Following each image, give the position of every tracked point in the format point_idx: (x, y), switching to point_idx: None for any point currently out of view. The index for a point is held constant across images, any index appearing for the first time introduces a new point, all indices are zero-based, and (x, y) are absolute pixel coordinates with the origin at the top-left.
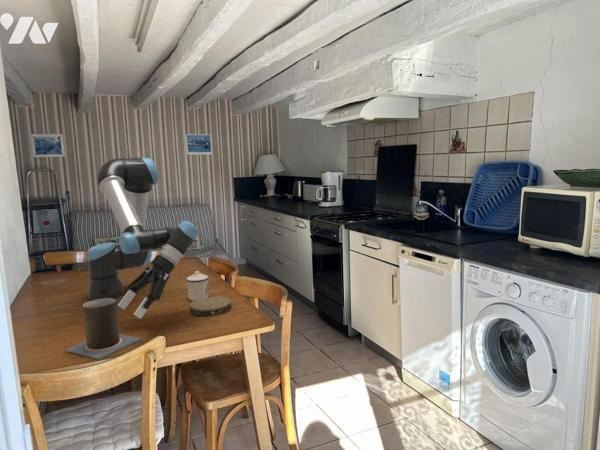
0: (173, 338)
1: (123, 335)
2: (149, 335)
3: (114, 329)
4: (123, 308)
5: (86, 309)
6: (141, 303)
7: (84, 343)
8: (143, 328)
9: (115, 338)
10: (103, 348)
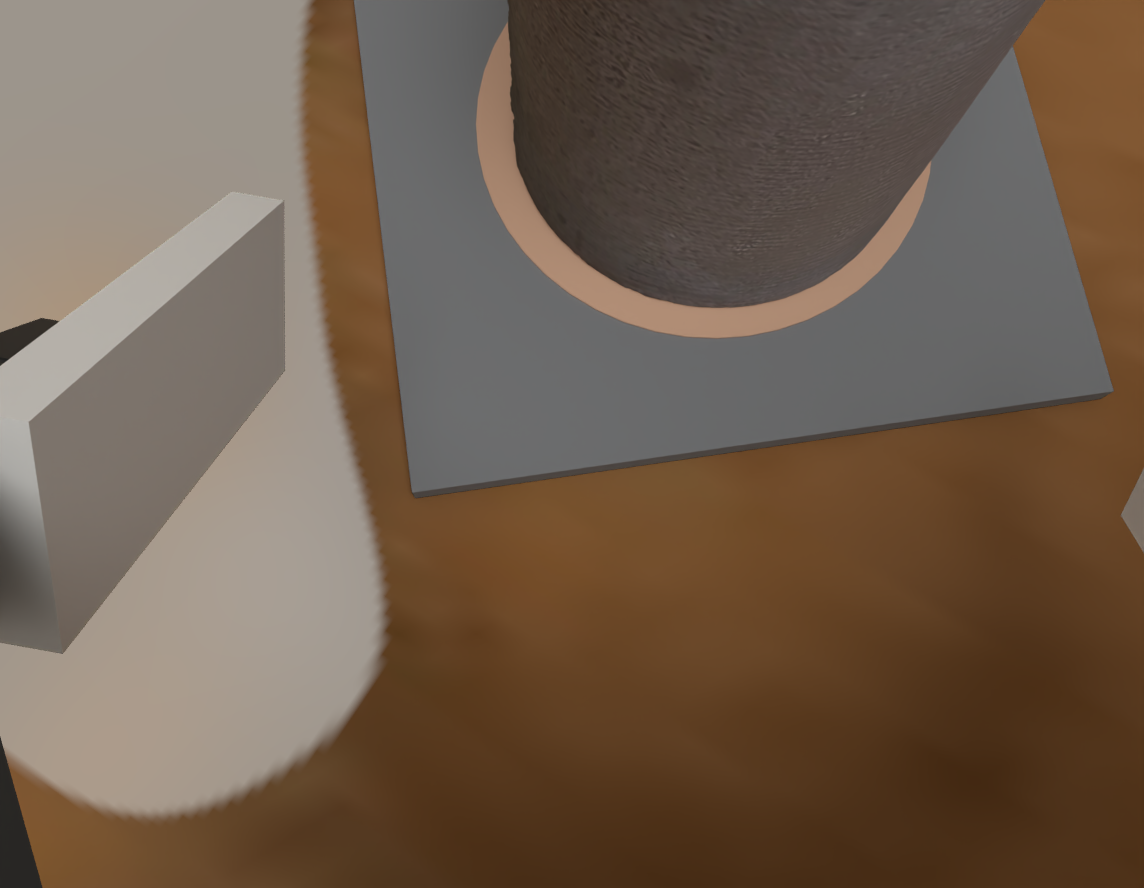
0: None
1: (757, 419)
2: (463, 675)
3: (517, 53)
4: (1142, 492)
5: None
6: (137, 310)
7: None
8: (825, 809)
9: (520, 137)
10: None
